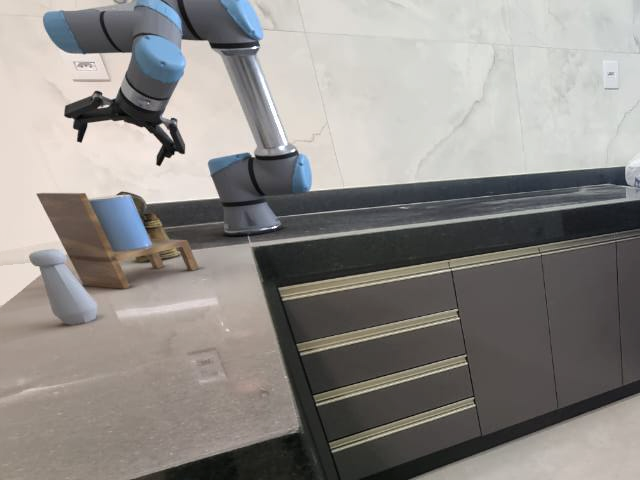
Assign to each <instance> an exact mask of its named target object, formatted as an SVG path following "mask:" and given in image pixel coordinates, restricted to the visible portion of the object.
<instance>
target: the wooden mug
mask: <svg viewBox="0 0 640 480" xmlns="http://www.w3.org/2000/svg"><path fill="white" fill-rule="evenodd" d="M116 195H131V197H132V199H133V202H134V204H135V206H136V208H137V211H138V213H139V215H140V217H141V220H142V222H143V224H144V226H145V229H146V231H147V233H148V235H149V238H150V239H170V238H169V236H168V233H166V231H165V229H164V227H163V222H162V221H161V219H160V218H158V217H157V215H156V213H144V212H145V211H146V210H147V209H148V204H147V202H146V201H145V199H144V198H143V197H142V196H140V195H138V194H135V193H132V192H128V191H120V192H118V193H116ZM158 253H159V256H160V258H161V260H162V261H163V260H164V261H165V260H168V259H169V260H170V259H172V258H175V257H178V256H179V252H178V249H177V248H174V249H170V250H166V251H161V252H158ZM135 260H136V262H138V263H151V262H150V260H149V257H148V255H144V256H139V257H135Z"/></svg>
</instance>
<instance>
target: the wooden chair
mask: <svg viewBox="0 0 640 480" xmlns="http://www.w3.org/2000/svg"><path fill="white" fill-rule="evenodd" d="M36 196H37V199H38V200H39V202H40V204H41V206H42V209H43V210H44V212H45V214H46V215H47V217H48V220H49V221H50V223H51V225H52V227H53V229H54V231H55V233H56V236H57V237H58V239H59V241H60V243H61V245H62V246H63V249H64V250H65V253H66V255H67V256H68V258H69V260H70V262H71V264H72V266H73V268H74V270H75V272H76V274H77V276H78V277H79V279H80V282H81V283H82V286H88V287H98V288H99V287H100V288H111V289H123V290H125V289H130V288H131V285H130V284H129V282H128V279H127V277H126V275H125V272H124V271H123V269H122V267H121V264H120V263H119V262H121V261H125V260H131V259H134V258H135V259H136V257H139V256H144V255H148V257H149V260H150V262H149V263H150V264H151V266H152V268H153V269H160V268H165V265H164V263H163V260H161V258H160V256H159V253H158V252H161V251H166V250H170V249H174V248H176V249H178V250H179V253H180V255H181V257H182V260H183V262H184V265H185V267H186V269H187V271H196V270H199V269H200V267H199V265H198V263H197V261H196V258H195V256H194V254H193V250H192V248H191V246H190V243H189V241H188V239H170V238H169V239H150V240H151V242H152V245H150V246H146V247H142V248H138V249H132V250H124V251H113V250H112V248H111V246H110V244H109V242H108V239H107V237H106V235H105V233H104V231H103V229H102V227H101V225H100V223H99V221H98V219H97V216H96V214H95V212H94V210H93V208H92V206H91V204H90V202H89V200H88V199H89V198H88V195H87V194H86V193H85V192H39V193H36Z"/></svg>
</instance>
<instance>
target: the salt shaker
mask: <svg viewBox="0 0 640 480" xmlns="http://www.w3.org/2000/svg"><path fill="white" fill-rule="evenodd" d="M66 255H67V254H65V252H64V251H63V250H60V249H58V248H47V249H41V250H37V251H33V252H31V253H30V254H29V255H28V259H29V261H30V263H31V264H32V265H33V266H34V267H38V268H39V271H40V275H41V278H42V281H43V285H44V288H45V291H46V294H47V298H48V301H49V305H50V308H51V311H52V313H53V315H54V316H55V317H56V318H58V319H59V320H60V321H62V322H63V323H64V324H65V325H71V326H74V325H79V324H86V323H89V322H91V321H94V320H97V314H98V308H99V305H98V303H97V301H96V300H95V299H94V298H93V297H92V295H90V294H89V292H88V291H87V290H86V289H85V287H84V285H83V284H81V282H80V281H78V279H77V278H76V276H75V275H74V274H73V273H72V272H71V271H70V269H69V268H68V267H67V266H66V264H65V262H67V261H68V258H67V256H66Z"/></svg>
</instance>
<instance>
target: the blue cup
mask: <svg viewBox="0 0 640 480" xmlns="http://www.w3.org/2000/svg"><path fill="white" fill-rule="evenodd" d="M88 200H89V202H90V204H91V206H92V208H93V210H94V212H95V214H96V216H97V219H98V221H99V223H100V225H101V227H102V229H103V231H104V233H105V235H106V237H107V239H108V242H109V244H110V246H111V248H112V250H113V251H124V250H132V249H138V248H142V247H146V246H150V245H152V242H151V240H150V238H149V235H148V233H147V231H146V229H145V226H144V224H143V222H142V220H141V217H140V215H139V213H138V211H137V208H136V206H135V204H134V202H133V199H132V197H131V195H117V194H115V195H105V196H96V197H95V196H94V197H89V198H88Z"/></svg>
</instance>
